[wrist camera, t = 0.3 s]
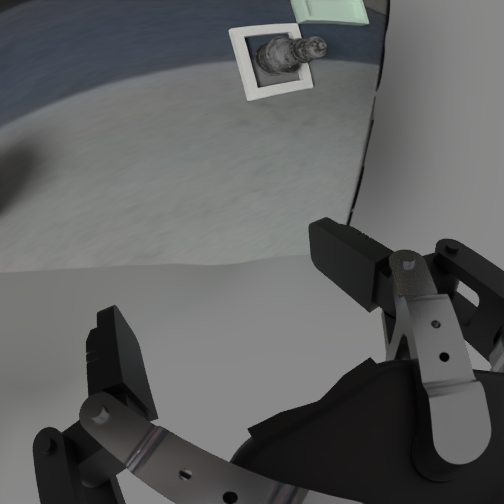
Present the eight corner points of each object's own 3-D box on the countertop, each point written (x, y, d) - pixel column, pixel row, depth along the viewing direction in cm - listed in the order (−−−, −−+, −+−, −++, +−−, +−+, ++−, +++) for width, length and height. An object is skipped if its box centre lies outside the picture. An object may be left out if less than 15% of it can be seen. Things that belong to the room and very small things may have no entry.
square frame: (228, 30, 30) (231, 28, 30) (293, 24, 34) (297, 23, 33) (247, 101, 36) (250, 100, 35) (309, 87, 39) (313, 87, 38)
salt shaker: (260, 35, 33) (313, 12, 23) (293, 52, 36) (350, 38, 26) (248, 67, 34) (299, 52, 24) (282, 83, 37) (338, 76, 28)
